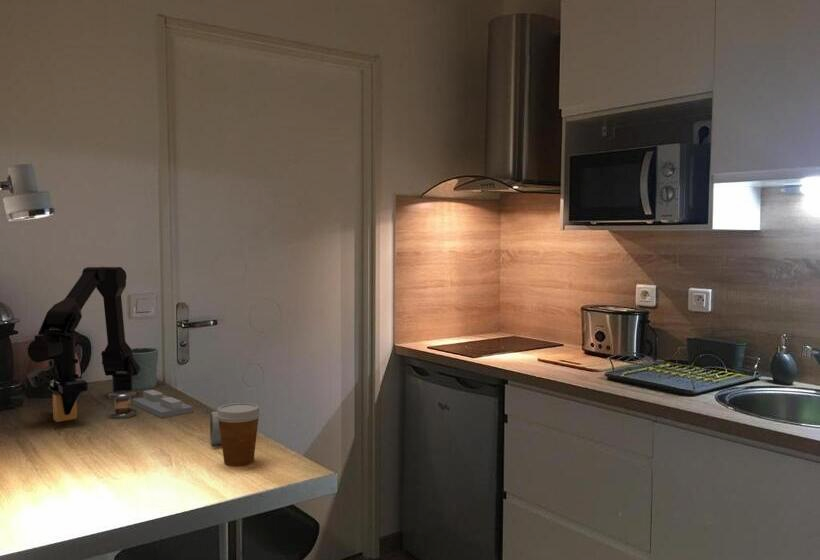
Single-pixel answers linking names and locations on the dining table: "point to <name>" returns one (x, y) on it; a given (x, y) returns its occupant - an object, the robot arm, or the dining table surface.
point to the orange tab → (62, 410)
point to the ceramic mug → (214, 430)
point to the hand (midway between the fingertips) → (65, 413)
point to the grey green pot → (145, 367)
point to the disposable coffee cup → (238, 432)
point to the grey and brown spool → (122, 404)
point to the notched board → (159, 408)
